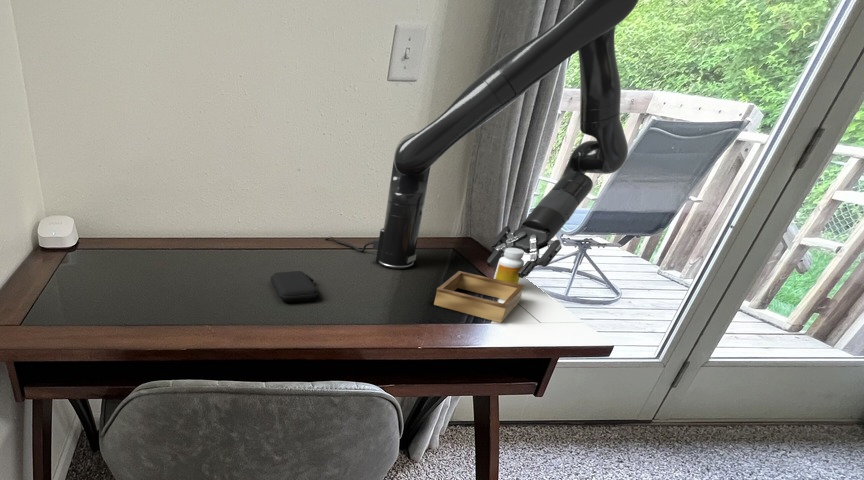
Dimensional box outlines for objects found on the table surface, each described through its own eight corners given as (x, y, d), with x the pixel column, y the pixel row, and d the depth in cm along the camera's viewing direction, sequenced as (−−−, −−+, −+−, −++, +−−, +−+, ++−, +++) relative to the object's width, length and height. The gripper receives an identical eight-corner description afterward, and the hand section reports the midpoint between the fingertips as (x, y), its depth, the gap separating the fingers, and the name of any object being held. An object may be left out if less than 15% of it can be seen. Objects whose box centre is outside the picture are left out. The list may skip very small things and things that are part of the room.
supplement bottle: (518, 293, 115) (531, 254, 109) (494, 292, 116) (505, 253, 110) (511, 284, 119) (523, 246, 114) (488, 283, 120) (499, 246, 115)
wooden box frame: (433, 304, 111) (436, 288, 109) (455, 286, 119) (459, 270, 117) (501, 323, 102) (506, 306, 100) (519, 301, 111) (525, 285, 109)
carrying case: (324, 301, 114) (308, 278, 127) (325, 290, 113) (308, 267, 125) (281, 305, 113) (268, 281, 126) (281, 293, 112) (269, 270, 124)
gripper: (518, 199, 115) (473, 253, 117) (578, 212, 105) (528, 272, 106) (525, 217, 120) (482, 269, 122) (584, 231, 109) (536, 288, 111)
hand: (504, 270), depth 114 cm, fingers open, 7 cm apart
